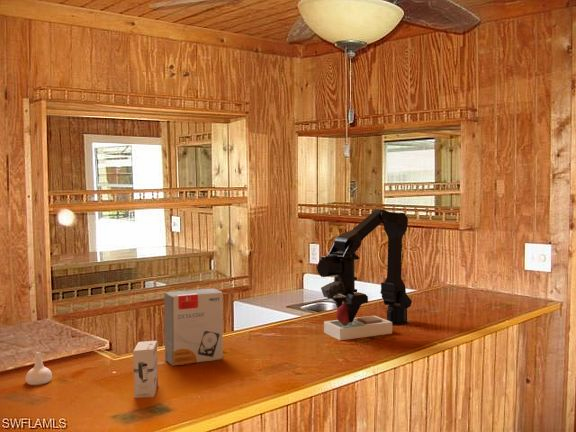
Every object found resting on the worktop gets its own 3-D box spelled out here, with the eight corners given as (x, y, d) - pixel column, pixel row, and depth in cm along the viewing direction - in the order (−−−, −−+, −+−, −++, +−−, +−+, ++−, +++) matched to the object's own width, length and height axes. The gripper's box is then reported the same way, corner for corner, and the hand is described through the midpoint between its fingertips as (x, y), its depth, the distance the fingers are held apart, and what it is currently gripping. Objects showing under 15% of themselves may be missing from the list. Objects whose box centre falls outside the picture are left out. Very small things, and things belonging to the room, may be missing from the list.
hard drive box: (172, 367, 171) (170, 296, 170) (164, 360, 178) (162, 292, 176) (224, 359, 178) (222, 291, 177) (214, 352, 185) (213, 287, 183)
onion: (356, 324, 205) (355, 300, 205) (350, 327, 200) (349, 303, 200) (340, 323, 208) (339, 299, 207) (333, 326, 202) (333, 302, 202)
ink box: (139, 386, 155) (138, 340, 155) (158, 385, 156) (157, 339, 155) (133, 398, 147) (132, 350, 146) (154, 397, 147) (153, 349, 146)
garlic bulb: (42, 388, 156) (44, 358, 155) (20, 385, 157) (21, 354, 156) (56, 380, 162) (57, 351, 162) (34, 377, 163) (36, 348, 163)
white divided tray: (374, 326, 215) (374, 313, 215) (392, 333, 205) (392, 320, 205) (324, 332, 207) (323, 319, 207) (339, 340, 197) (339, 326, 197)
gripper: (311, 271, 208) (312, 317, 209) (338, 280, 191) (338, 329, 192) (340, 269, 213) (340, 313, 214) (368, 277, 196) (369, 325, 197)
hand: (346, 320), depth 204 cm, fingers closed on onion, 6 cm apart
